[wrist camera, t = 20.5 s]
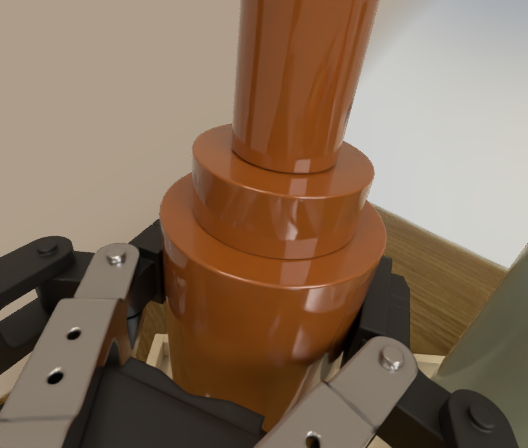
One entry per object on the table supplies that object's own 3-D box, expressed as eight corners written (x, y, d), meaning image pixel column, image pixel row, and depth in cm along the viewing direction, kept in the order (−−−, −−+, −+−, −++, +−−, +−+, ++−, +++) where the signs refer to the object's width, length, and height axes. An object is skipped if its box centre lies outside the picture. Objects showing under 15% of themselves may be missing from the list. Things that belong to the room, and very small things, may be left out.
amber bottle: (160, 414, 18) (101, -130, 6) (259, 368, 20) (343, -62, 9) (202, 552, 13) (251, -308, 2) (319, 472, 16) (610, -83, 5)
